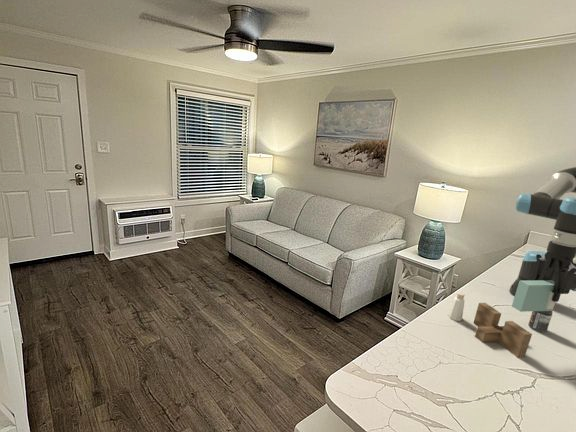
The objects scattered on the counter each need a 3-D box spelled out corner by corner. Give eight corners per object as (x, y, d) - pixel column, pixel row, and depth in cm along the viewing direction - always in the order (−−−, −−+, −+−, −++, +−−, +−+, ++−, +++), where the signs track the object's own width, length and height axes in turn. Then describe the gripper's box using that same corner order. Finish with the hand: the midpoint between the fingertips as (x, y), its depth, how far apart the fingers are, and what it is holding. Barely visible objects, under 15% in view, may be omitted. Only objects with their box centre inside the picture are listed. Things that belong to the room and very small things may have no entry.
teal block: (542, 305, 113) (551, 280, 111) (552, 310, 110) (561, 284, 107) (511, 306, 110) (519, 280, 107) (520, 311, 107) (529, 285, 104)
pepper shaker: (444, 314, 129) (450, 290, 126) (453, 312, 131) (459, 289, 128) (455, 322, 124) (462, 297, 121) (465, 320, 126) (471, 295, 123)
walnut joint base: (459, 323, 123) (464, 303, 121) (493, 322, 126) (499, 302, 124) (501, 358, 104) (508, 335, 102) (540, 356, 108) (547, 333, 105)
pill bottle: (529, 322, 129) (537, 298, 126) (547, 329, 125) (555, 304, 122) (526, 327, 125) (534, 302, 122) (545, 335, 121) (554, 309, 118)
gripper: (531, 235, 112) (513, 293, 118) (582, 252, 96) (558, 318, 102) (548, 235, 113) (529, 293, 119) (600, 252, 98) (576, 318, 104)
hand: (543, 305), depth 111 cm, fingers closed on teal block, 3 cm apart
